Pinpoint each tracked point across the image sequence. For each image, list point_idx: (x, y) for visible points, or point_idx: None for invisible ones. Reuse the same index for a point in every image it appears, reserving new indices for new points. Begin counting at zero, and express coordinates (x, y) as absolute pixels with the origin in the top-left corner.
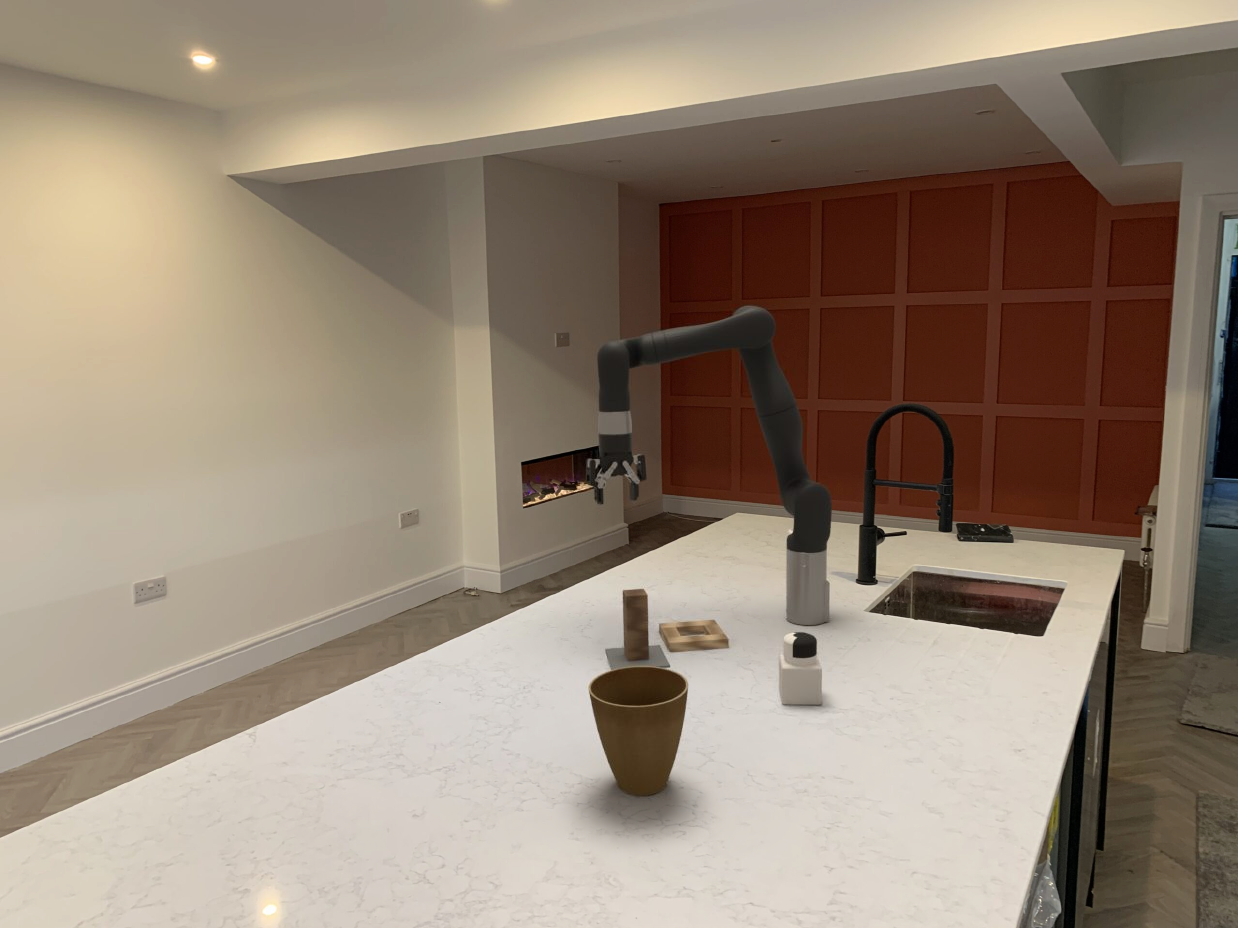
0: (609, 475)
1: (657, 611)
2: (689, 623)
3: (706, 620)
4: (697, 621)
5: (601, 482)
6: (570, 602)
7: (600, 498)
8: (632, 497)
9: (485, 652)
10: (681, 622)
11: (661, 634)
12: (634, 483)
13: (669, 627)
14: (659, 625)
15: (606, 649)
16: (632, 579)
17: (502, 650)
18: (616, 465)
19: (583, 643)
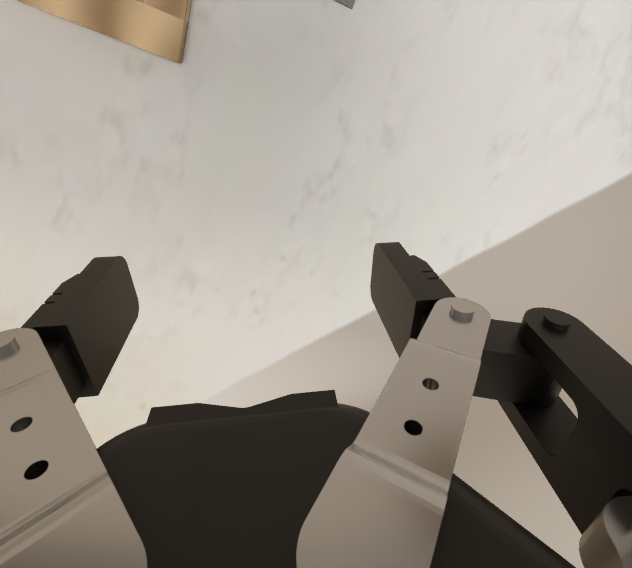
0: (406, 373)
1: (138, 201)
2: (93, 8)
3: (33, 2)
4: (64, 11)
5: (461, 332)
6: (285, 322)
7: (410, 260)
8: (124, 287)
9: (536, 147)
10: (114, 31)
11: (186, 24)
12: (51, 348)
13: (160, 11)
14: (179, 54)
15: (352, 1)
16: (129, 388)
17: (509, 141)
18: (314, 530)
19: (369, 89)
